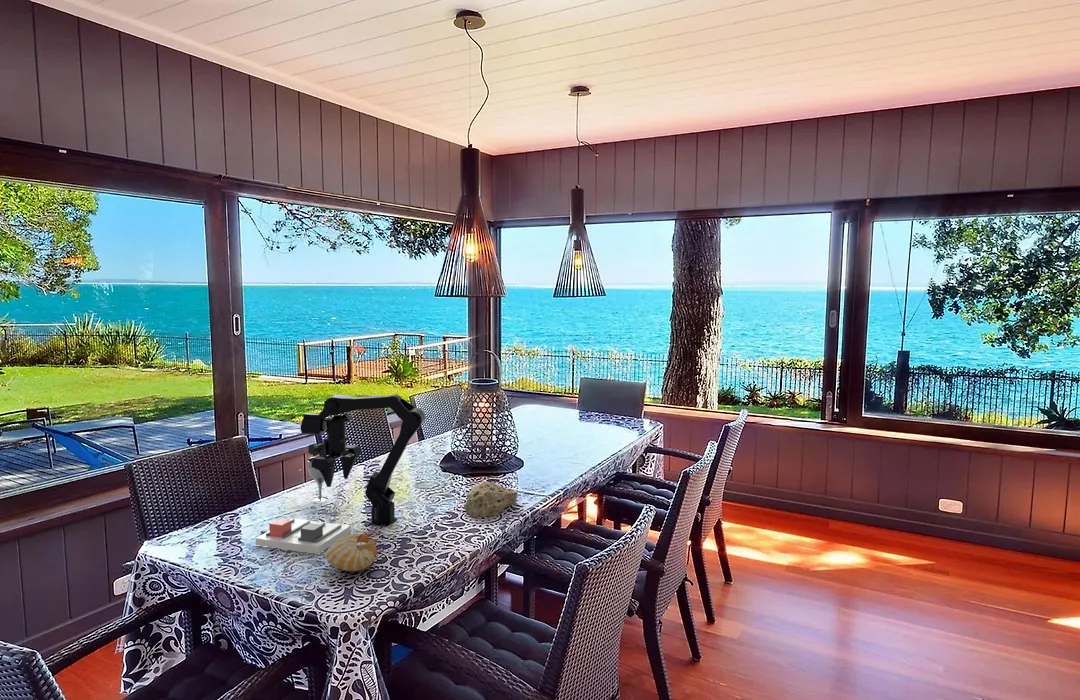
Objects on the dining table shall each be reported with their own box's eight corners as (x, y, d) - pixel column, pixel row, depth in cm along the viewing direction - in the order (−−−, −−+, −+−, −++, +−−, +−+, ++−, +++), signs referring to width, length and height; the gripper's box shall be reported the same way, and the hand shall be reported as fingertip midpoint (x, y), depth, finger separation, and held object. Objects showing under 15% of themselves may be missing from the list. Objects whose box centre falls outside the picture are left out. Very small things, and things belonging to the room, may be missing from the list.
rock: (483, 499, 217) (490, 473, 216) (517, 514, 211) (524, 488, 211) (453, 511, 198) (461, 483, 197) (490, 528, 192) (498, 499, 192)
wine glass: (307, 504, 207) (306, 462, 205) (309, 497, 214) (308, 456, 213) (331, 502, 209) (330, 461, 207) (333, 495, 216) (332, 455, 215)
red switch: (291, 531, 177) (291, 520, 176) (282, 536, 173) (282, 525, 173) (279, 530, 178) (278, 518, 178) (269, 535, 174) (269, 523, 174)
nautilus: (369, 544, 175) (408, 558, 168) (310, 569, 157) (351, 585, 150) (370, 518, 175) (410, 531, 168) (311, 540, 156) (353, 555, 149)
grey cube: (322, 536, 173) (322, 524, 173) (314, 542, 170) (313, 530, 169) (309, 534, 174) (309, 523, 174) (300, 540, 171) (300, 528, 170)
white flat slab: (350, 533, 182) (350, 523, 182) (318, 554, 167) (318, 543, 167) (278, 524, 189) (278, 514, 189) (241, 544, 174) (241, 533, 174)
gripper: (331, 426, 200) (332, 472, 201) (295, 439, 182) (296, 489, 183) (361, 429, 197) (361, 474, 199) (327, 442, 179) (328, 492, 181)
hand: (337, 482), depth 190 cm, fingers open, 9 cm apart
